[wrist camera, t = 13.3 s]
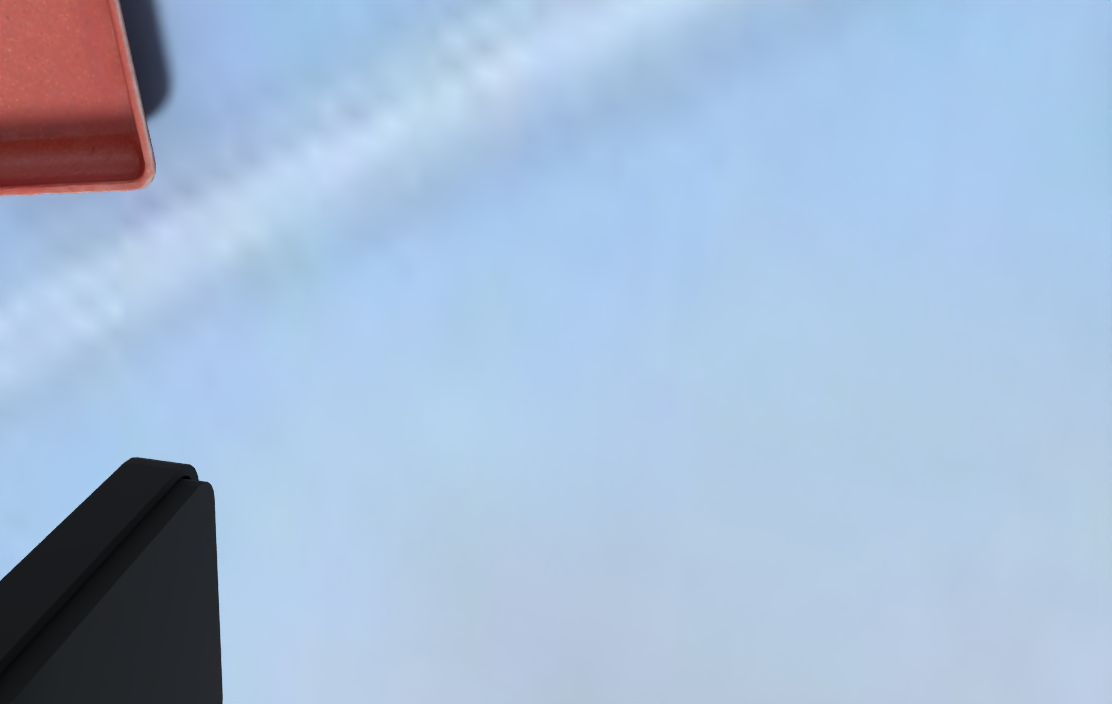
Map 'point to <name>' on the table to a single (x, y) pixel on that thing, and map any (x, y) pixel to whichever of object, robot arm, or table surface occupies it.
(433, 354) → the table surface
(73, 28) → the plant saucer
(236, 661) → the table surface
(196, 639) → the robot arm
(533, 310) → the table surface
